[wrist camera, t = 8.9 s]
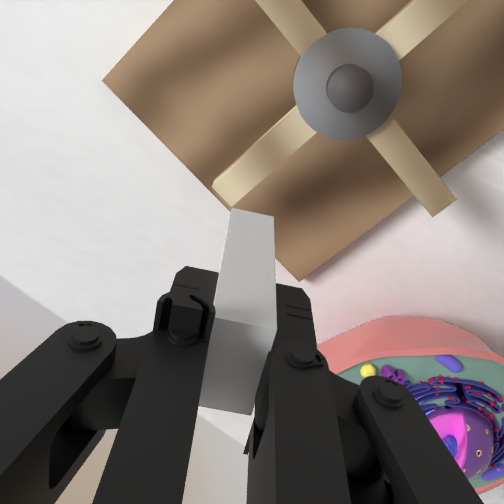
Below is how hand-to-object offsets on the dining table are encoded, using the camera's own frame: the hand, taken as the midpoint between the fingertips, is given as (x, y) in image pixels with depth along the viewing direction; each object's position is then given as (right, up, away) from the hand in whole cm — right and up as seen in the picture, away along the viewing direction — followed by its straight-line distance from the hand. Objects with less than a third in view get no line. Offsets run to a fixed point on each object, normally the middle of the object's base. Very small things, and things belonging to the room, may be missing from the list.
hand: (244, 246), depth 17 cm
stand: (+6, +12, +16) cm, 21 cm away
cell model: (+13, -10, +27) cm, 32 cm away
